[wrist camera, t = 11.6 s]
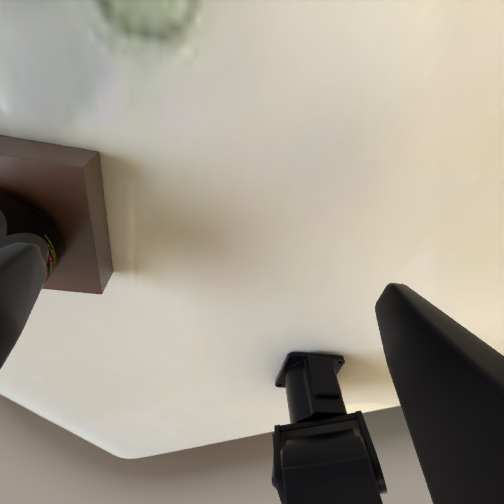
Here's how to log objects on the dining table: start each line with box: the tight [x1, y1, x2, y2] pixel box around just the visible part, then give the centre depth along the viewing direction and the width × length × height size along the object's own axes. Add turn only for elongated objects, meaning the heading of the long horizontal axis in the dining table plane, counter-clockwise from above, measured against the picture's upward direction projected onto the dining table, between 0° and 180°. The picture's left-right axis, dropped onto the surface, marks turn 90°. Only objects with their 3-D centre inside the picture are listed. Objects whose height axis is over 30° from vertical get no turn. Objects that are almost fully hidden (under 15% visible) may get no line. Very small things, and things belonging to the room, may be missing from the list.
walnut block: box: [0, 136, 113, 294], centre depth 19 cm, size 10×10×2 cm
